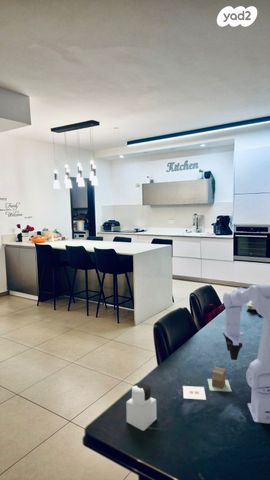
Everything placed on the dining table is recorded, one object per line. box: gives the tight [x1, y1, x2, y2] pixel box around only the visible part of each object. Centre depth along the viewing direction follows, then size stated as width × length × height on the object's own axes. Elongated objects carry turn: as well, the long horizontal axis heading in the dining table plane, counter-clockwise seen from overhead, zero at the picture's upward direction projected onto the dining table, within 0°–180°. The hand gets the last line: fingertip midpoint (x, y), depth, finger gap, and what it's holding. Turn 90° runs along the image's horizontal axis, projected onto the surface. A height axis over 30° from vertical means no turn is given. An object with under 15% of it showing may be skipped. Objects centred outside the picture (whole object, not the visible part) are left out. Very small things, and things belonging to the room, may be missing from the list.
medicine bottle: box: [125, 382, 157, 432], centre depth 101 cm, size 7×7×12 cm
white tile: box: [182, 385, 207, 401], centre depth 117 cm, size 8×8×1 cm
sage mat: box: [207, 378, 233, 392], centre depth 121 cm, size 8×8×1 cm
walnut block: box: [211, 366, 227, 389], centre depth 121 cm, size 4×4×6 cm
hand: (232, 354), depth 127 cm, fingers open, 7 cm apart
